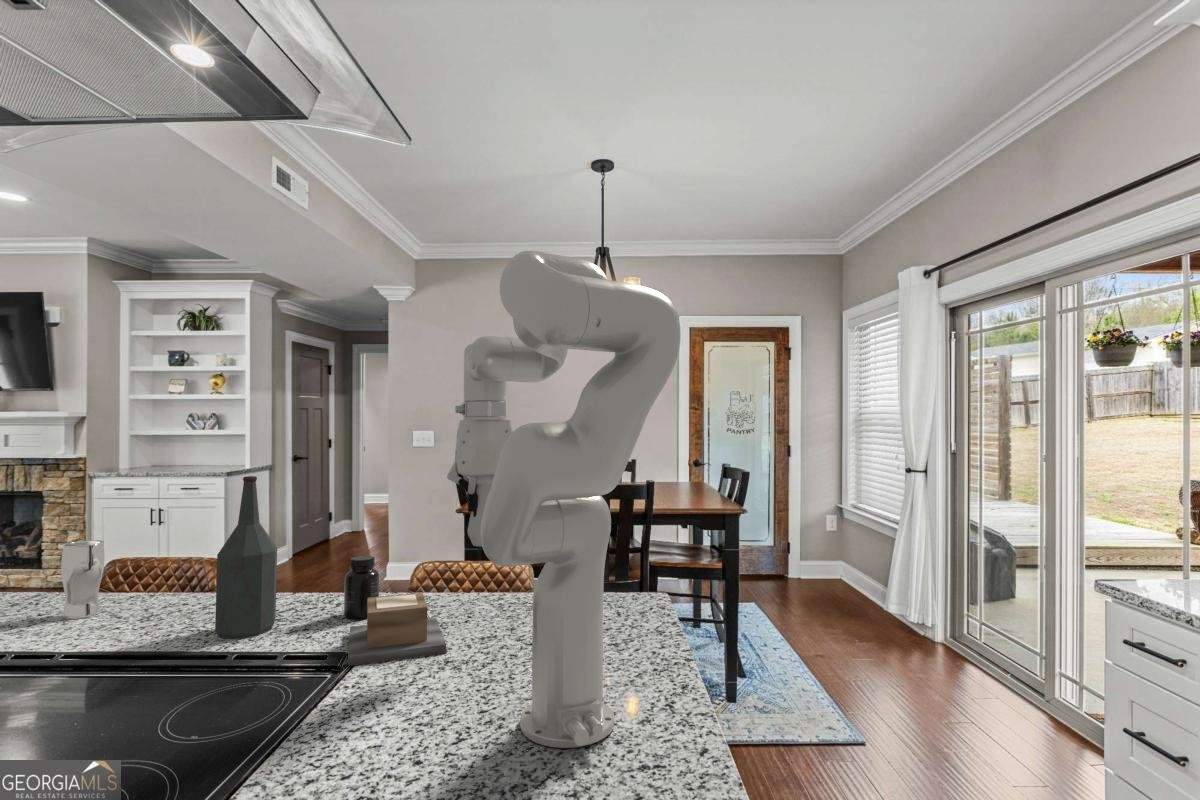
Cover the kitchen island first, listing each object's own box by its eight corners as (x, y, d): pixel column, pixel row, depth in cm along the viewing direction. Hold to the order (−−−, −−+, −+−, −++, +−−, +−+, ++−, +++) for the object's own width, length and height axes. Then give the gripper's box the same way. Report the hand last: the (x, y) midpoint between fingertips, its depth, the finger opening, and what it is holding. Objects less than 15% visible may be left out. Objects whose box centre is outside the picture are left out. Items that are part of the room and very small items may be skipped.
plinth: (446, 653, 107) (446, 608, 107) (347, 665, 101) (348, 619, 101) (436, 625, 122) (436, 586, 122) (349, 634, 116) (350, 594, 116)
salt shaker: (504, 541, 110) (504, 469, 111) (495, 547, 104) (496, 471, 105) (472, 541, 111) (473, 469, 111) (462, 547, 105) (463, 471, 106)
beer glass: (50, 618, 125) (53, 545, 126) (87, 608, 132) (90, 539, 132) (74, 621, 123) (77, 547, 124) (110, 611, 130) (113, 541, 130)
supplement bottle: (372, 608, 133) (373, 553, 133) (383, 616, 127) (384, 558, 128) (339, 614, 128) (340, 557, 129) (349, 622, 123) (351, 563, 123)
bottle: (270, 635, 115) (274, 477, 117) (210, 642, 112) (215, 479, 113) (277, 619, 125) (281, 473, 126) (222, 625, 121) (226, 474, 123)
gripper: (440, 411, 102) (439, 521, 101) (534, 412, 108) (534, 515, 107) (435, 412, 109) (434, 515, 108) (524, 413, 115) (523, 510, 114)
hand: (484, 514), depth 108 cm, fingers closed on salt shaker, 3 cm apart
